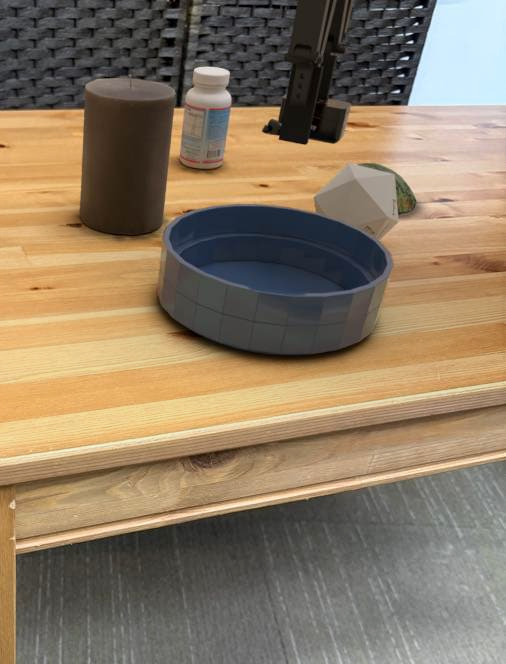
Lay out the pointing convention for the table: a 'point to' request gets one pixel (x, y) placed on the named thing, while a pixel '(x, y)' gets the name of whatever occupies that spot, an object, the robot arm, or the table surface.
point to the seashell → (397, 188)
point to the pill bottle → (206, 119)
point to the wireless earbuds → (319, 120)
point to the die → (361, 199)
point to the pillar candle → (125, 154)
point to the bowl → (272, 278)
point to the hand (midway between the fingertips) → (300, 134)
